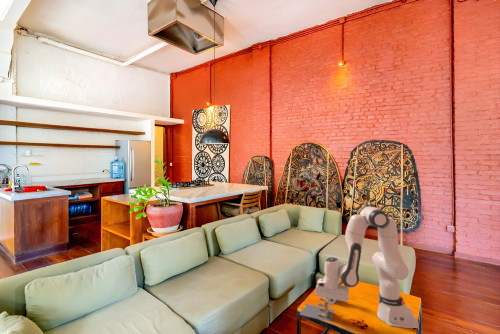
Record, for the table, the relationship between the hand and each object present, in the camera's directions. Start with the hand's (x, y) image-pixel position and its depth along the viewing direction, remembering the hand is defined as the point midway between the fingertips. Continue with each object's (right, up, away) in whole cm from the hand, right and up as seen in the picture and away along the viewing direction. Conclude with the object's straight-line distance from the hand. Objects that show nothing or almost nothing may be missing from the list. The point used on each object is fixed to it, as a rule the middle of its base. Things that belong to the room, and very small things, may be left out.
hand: (331, 304), depth 163 cm
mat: (-8, -7, +4) cm, 12 cm away
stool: (-5, -7, +2) cm, 9 cm away
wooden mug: (+8, -7, +17) cm, 20 cm away
